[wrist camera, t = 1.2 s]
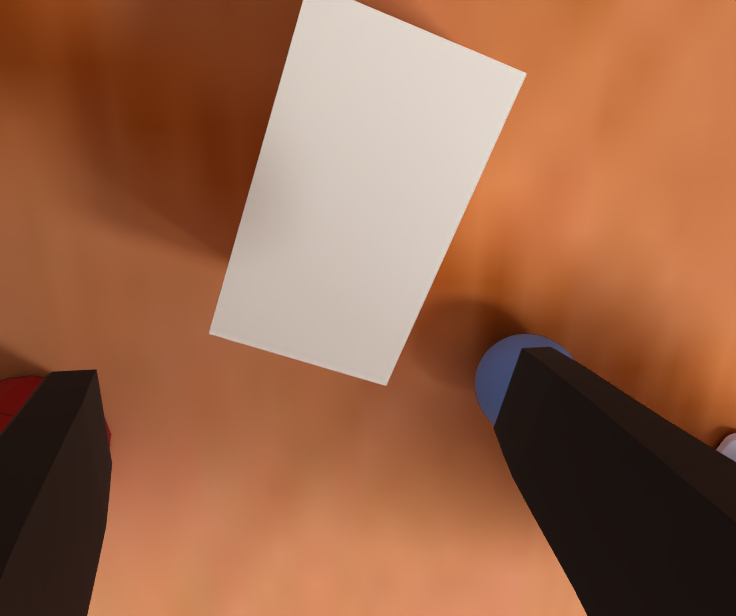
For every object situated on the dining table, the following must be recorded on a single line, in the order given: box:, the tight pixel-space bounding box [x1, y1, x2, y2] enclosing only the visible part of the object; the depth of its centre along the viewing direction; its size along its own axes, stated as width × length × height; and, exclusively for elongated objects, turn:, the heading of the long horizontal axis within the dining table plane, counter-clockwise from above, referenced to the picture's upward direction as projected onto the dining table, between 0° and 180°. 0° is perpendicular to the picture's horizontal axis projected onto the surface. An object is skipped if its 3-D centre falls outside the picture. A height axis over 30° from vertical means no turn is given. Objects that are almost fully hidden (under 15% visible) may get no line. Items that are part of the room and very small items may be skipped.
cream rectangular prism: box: [209, 0, 527, 386], centre depth 18 cm, size 6×10×5 cm, turn 160°
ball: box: [475, 334, 573, 425], centre depth 22 cm, size 4×4×4 cm
